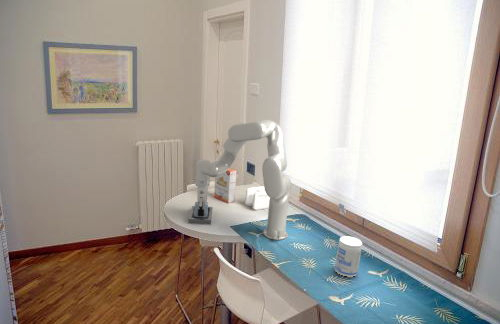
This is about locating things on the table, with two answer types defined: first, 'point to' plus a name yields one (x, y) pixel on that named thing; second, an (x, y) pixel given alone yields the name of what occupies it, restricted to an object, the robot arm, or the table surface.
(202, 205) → the module
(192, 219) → the grey rectangular frame
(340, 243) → the supplement tub
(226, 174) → the cracker box
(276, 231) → the robot arm
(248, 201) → the cable organizer
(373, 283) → the table surface
